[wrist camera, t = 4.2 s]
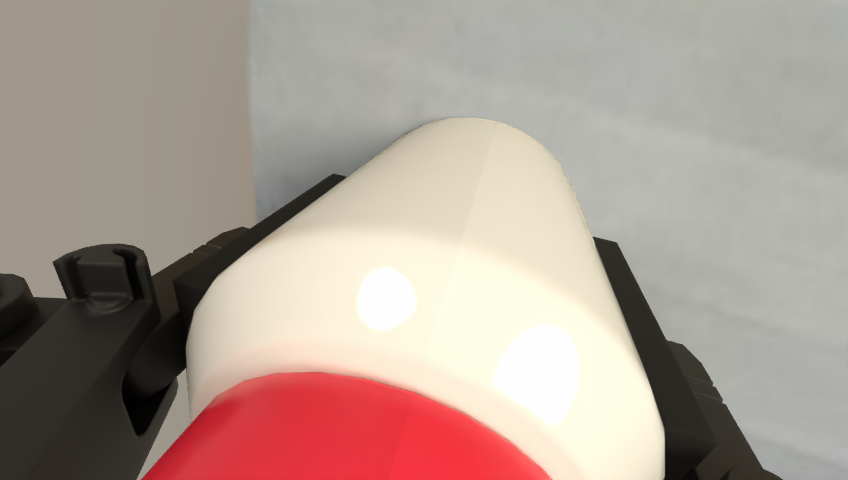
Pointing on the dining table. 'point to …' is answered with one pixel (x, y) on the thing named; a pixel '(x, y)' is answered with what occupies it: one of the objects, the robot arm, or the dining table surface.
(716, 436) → the robot arm
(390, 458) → the pill bottle
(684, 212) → the dining table surface
